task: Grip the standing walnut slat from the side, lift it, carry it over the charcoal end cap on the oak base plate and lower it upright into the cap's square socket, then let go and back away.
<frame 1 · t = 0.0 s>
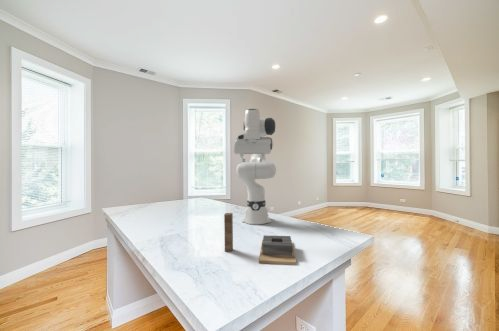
hand: (252, 162, 127), 39 cm above the table, tool pointing down, fingers open, 8 cm apart
walnut slat: (228, 250, 101), on the table
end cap: (277, 251, 99), on the table
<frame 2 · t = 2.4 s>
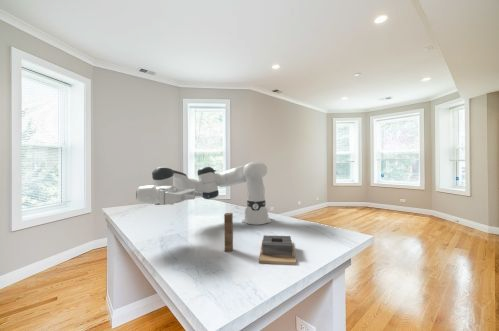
hand: (198, 195, 105), 23 cm above the table, tool horizontal, fingers open, 8 cm apart
nothing on the table moved.
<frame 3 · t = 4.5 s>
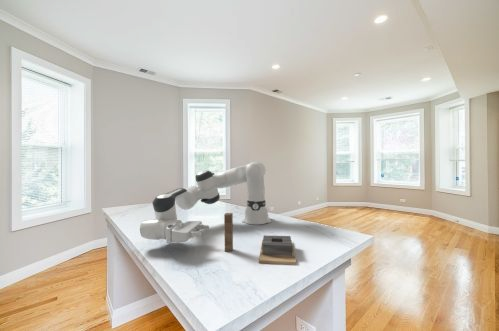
hand: (205, 230, 102), 8 cm above the table, tool horizontal, fingers open, 8 cm apart
nothing on the table moved.
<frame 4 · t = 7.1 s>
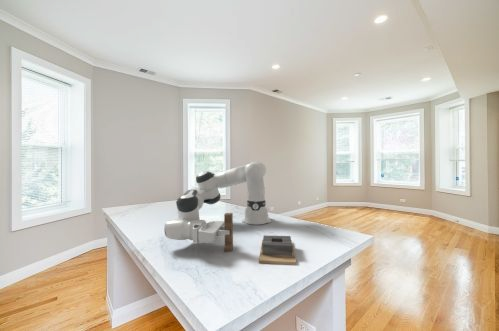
hand: (230, 230, 101), 9 cm above the table, tool horizontal, fingers closed on walnut slat, 3 cm apart
walnut slat: (228, 250, 101), on the table, touching gripper
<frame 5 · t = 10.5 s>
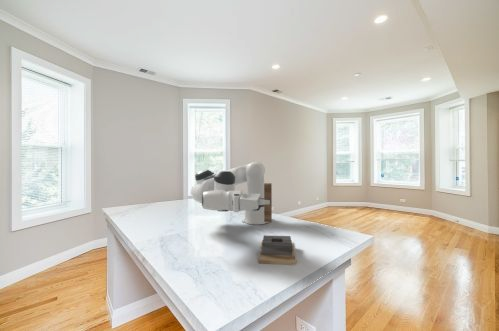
hand: (270, 201, 98), 22 cm above the table, tool horizontal, fingers closed on walnut slat, 3 cm apart
walnut slat: (268, 221, 98), point 13 cm above the table, touching gripper
when the fingers open (11 cm above the table, at t = 13.9 s): walnut slat drops 1 cm, resting on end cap.
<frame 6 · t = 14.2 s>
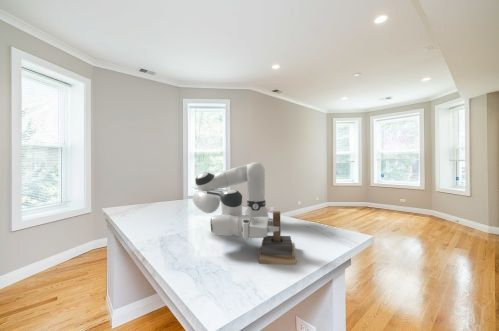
hand: (278, 226, 99), 11 cm above the table, tool horizontal, fingers open, 6 cm apart
walnut slat: (277, 249, 99), point 1 cm above the table, touching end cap
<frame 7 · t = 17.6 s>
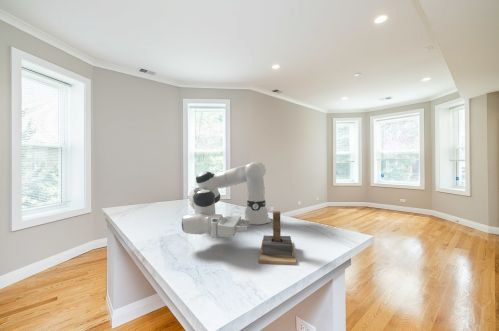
hand: (248, 225, 100), 11 cm above the table, tool horizontal, fingers open, 8 cm apart
nothing on the table moved.
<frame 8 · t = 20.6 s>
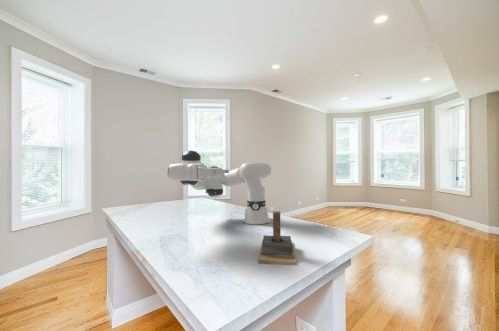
hand: (226, 171, 113), 34 cm above the table, tool horizontal, fingers open, 8 cm apart
nothing on the table moved.
at the end: walnut slat 0.0 cm off-centre on the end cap, point 1.0 cm above the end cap's base; walnut slat tilted 0°; the gripper is holding nothing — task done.
